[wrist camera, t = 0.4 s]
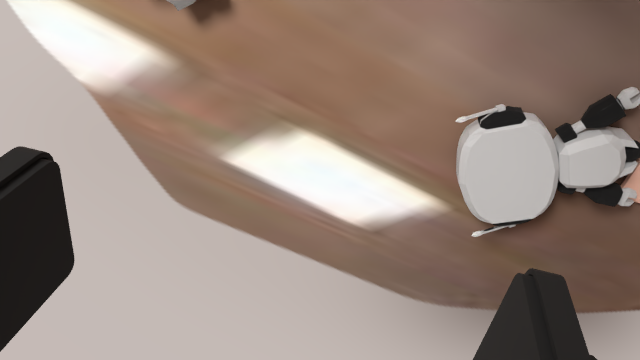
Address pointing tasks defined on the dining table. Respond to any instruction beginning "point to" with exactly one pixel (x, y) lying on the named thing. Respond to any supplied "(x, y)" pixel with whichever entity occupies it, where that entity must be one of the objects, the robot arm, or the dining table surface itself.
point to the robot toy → (543, 160)
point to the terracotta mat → (633, 181)
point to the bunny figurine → (181, 3)
